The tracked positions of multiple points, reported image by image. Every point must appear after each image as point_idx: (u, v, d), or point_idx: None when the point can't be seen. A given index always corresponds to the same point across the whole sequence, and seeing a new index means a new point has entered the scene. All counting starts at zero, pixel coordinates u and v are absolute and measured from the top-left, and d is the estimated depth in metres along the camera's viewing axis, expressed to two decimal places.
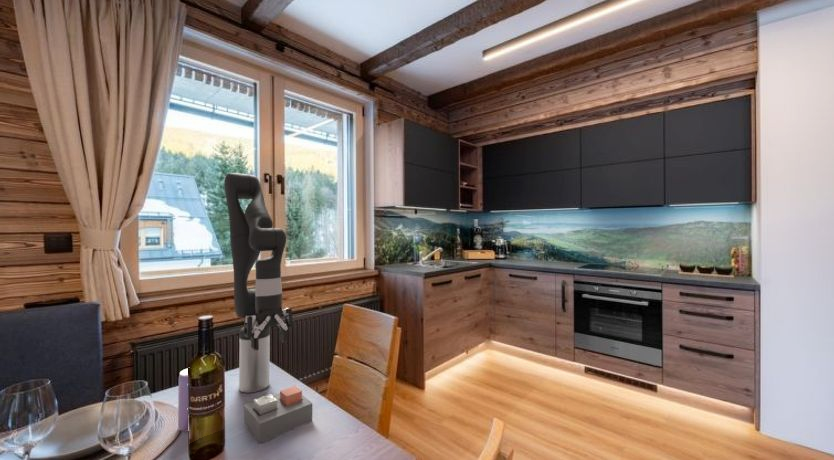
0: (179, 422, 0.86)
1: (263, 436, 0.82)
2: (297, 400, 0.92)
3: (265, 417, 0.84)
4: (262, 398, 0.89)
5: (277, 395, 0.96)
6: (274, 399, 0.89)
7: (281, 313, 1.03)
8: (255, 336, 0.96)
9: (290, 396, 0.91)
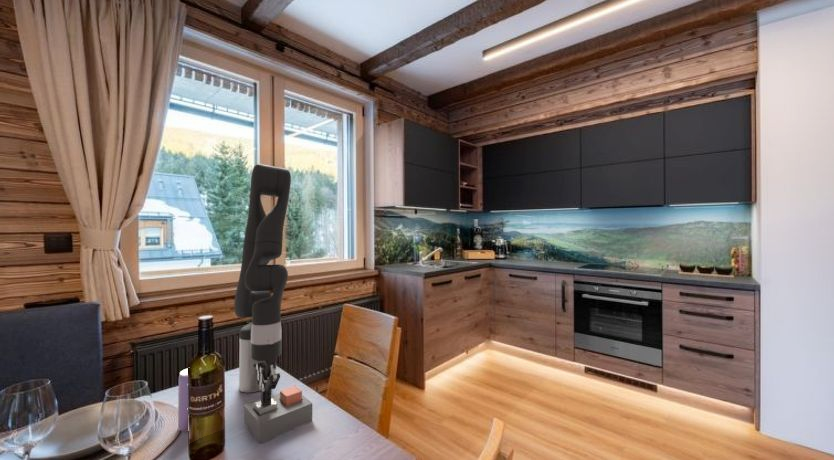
0: (179, 422, 0.86)
1: (263, 436, 0.82)
2: (297, 400, 0.92)
3: (265, 417, 0.84)
4: None
5: (277, 395, 0.96)
6: (274, 402, 0.89)
7: None
8: None
9: (290, 396, 0.91)
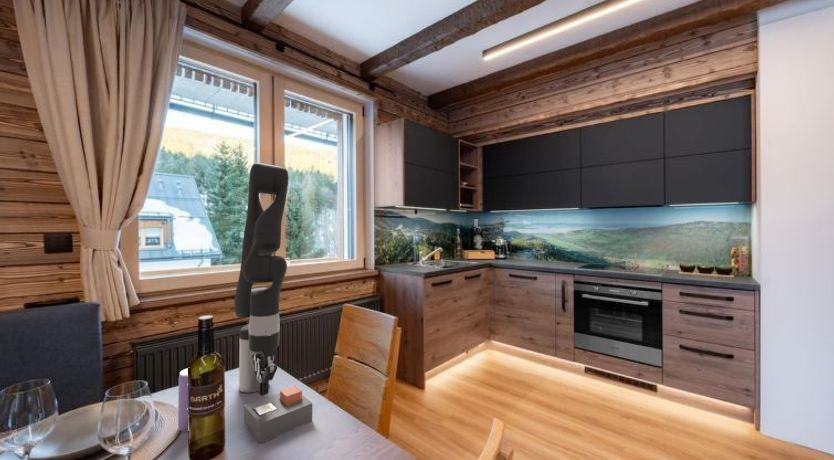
0: (179, 422, 0.86)
1: (263, 436, 0.82)
2: (297, 400, 0.92)
3: (265, 417, 0.84)
4: (262, 407, 0.89)
5: (277, 395, 0.96)
6: (274, 408, 0.89)
7: None
8: None
9: (290, 396, 0.91)
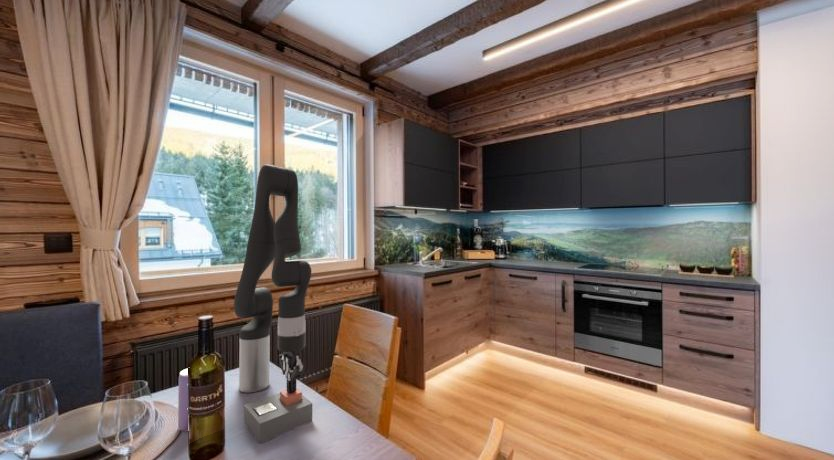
0: (179, 422, 0.86)
1: (263, 436, 0.82)
2: (297, 401, 0.92)
3: (265, 417, 0.84)
4: (262, 407, 0.89)
5: (277, 395, 0.96)
6: (274, 408, 0.89)
7: None
8: None
9: (290, 397, 0.91)
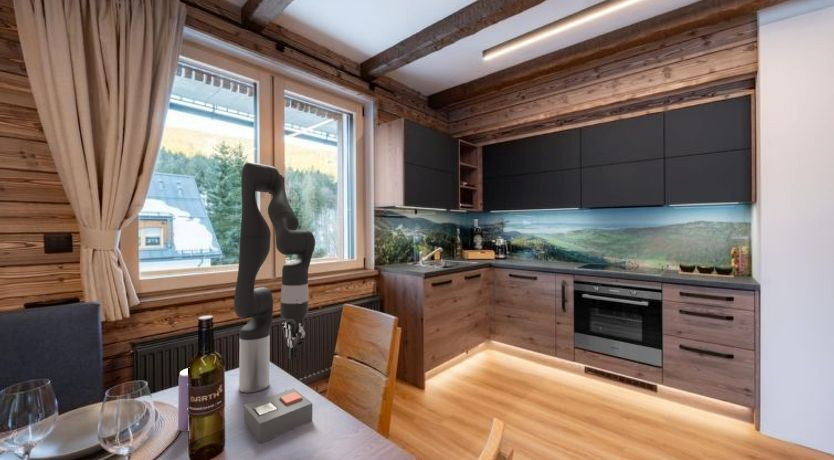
0: (179, 422, 0.86)
1: (263, 436, 0.82)
2: None
3: (265, 417, 0.84)
4: (262, 407, 0.89)
5: (277, 395, 0.96)
6: (274, 408, 0.89)
7: None
8: None
9: (290, 402, 0.91)
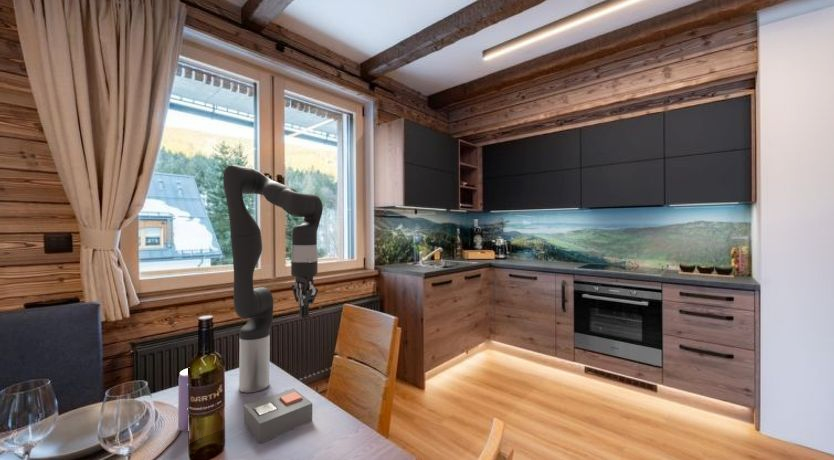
0: (179, 422, 0.86)
1: (263, 436, 0.82)
2: None
3: (265, 417, 0.84)
4: (262, 407, 0.89)
5: (277, 395, 0.96)
6: (274, 408, 0.89)
7: None
8: None
9: (290, 402, 0.91)
